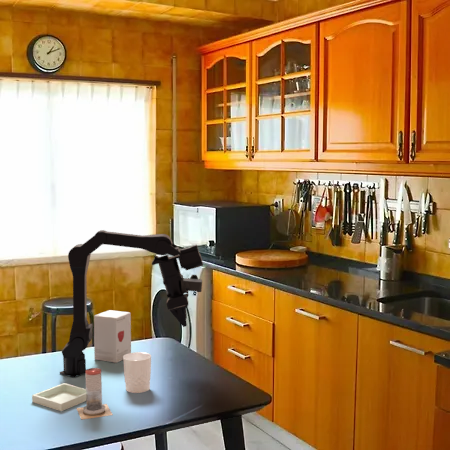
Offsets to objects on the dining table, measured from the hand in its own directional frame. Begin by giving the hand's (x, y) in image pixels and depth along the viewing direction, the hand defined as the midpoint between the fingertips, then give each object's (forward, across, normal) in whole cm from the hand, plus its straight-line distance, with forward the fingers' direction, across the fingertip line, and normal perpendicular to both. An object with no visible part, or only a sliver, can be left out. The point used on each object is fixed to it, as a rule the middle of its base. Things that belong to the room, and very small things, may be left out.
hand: (185, 322), depth 202 cm
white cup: (+12, -16, +17) cm, 26 cm away
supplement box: (+9, +15, +27) cm, 32 cm away
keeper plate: (+9, -32, +27) cm, 43 cm away
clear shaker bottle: (+8, -32, +27) cm, 42 cm away
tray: (+6, -23, +36) cm, 43 cm away
